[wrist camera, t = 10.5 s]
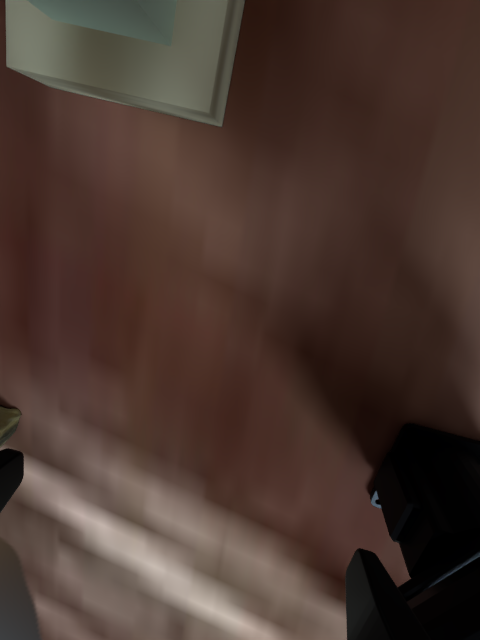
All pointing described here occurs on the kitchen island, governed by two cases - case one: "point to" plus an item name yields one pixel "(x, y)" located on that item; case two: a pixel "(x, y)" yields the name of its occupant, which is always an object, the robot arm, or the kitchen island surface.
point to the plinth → (133, 59)
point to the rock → (8, 423)
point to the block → (116, 16)
